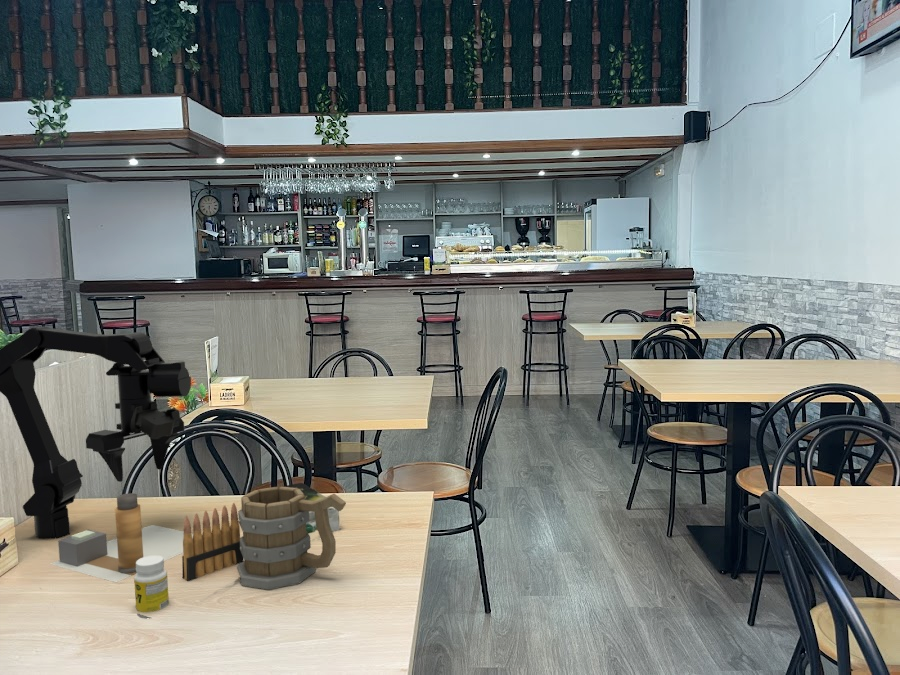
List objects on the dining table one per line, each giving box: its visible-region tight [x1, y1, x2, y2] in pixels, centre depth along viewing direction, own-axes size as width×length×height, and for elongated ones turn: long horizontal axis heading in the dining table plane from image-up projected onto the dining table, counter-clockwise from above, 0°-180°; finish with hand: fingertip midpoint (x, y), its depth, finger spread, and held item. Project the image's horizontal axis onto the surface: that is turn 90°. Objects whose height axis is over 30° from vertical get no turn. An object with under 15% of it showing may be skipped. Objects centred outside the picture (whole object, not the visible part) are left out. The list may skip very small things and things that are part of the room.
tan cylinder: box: [114, 492, 143, 574], centre depth 125 cm, size 4×4×13 cm
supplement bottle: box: [133, 555, 170, 620], centre depth 112 cm, size 5×5×8 cm
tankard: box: [236, 486, 347, 591], centre depth 124 cm, size 20×13×15 cm, turn 69°
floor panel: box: [49, 524, 193, 583], centre depth 134 cm, size 18×22×1 cm
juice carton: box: [281, 482, 341, 534], centre depth 151 cm, size 20×10×6 cm, turn 34°
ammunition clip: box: [181, 502, 244, 582], centre depth 124 cm, size 11×2×12 cm, turn 137°
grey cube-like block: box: [57, 529, 108, 567], centre depth 131 cm, size 5×6×5 cm
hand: (140, 475), depth 142 cm, fingers open, 9 cm apart
